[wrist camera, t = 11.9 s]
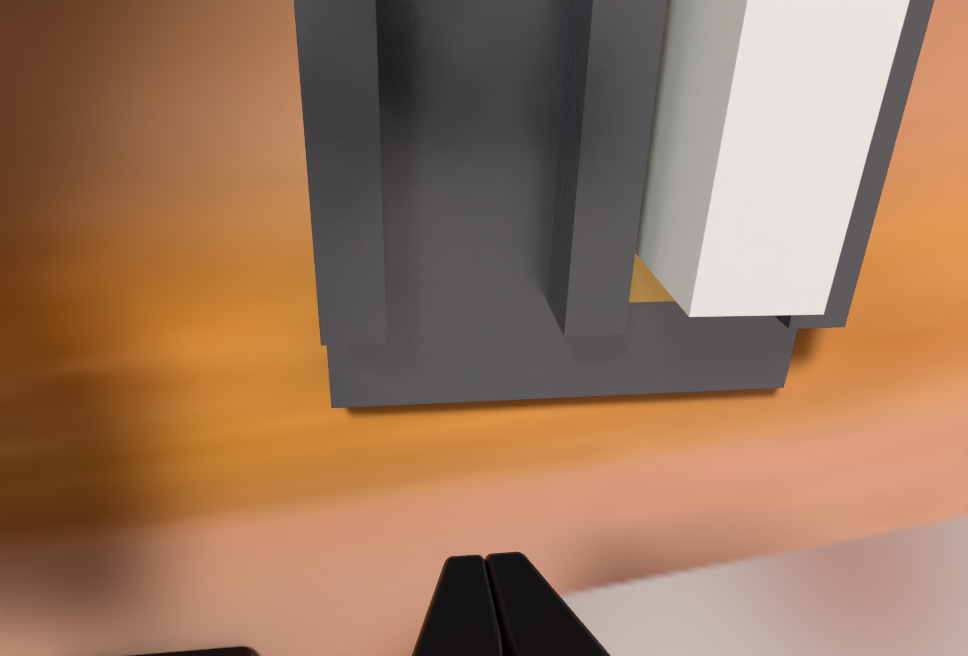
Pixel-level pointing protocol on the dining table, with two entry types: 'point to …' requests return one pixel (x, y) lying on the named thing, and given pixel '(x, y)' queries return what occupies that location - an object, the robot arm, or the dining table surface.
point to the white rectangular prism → (761, 148)
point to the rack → (517, 205)
